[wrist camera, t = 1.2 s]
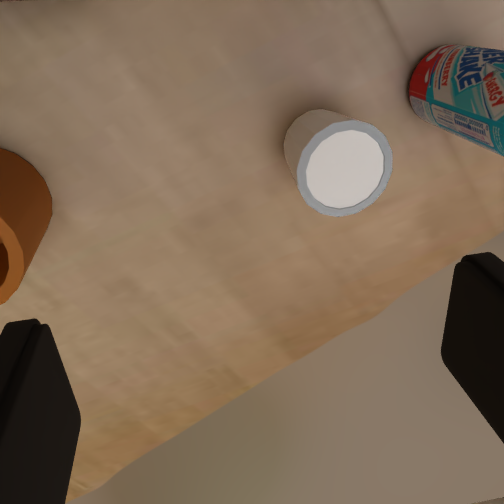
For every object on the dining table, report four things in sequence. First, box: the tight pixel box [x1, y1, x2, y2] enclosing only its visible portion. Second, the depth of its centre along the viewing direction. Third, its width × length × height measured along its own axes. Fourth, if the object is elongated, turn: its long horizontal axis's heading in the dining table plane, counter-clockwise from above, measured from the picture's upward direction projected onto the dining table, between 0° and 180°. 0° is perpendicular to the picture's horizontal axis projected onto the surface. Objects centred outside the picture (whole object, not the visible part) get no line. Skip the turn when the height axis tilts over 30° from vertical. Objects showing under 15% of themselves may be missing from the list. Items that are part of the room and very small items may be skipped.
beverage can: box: [408, 44, 504, 156], centre depth 31 cm, size 6×6×15 cm
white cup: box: [283, 109, 392, 217], centre depth 35 cm, size 7×7×7 cm
